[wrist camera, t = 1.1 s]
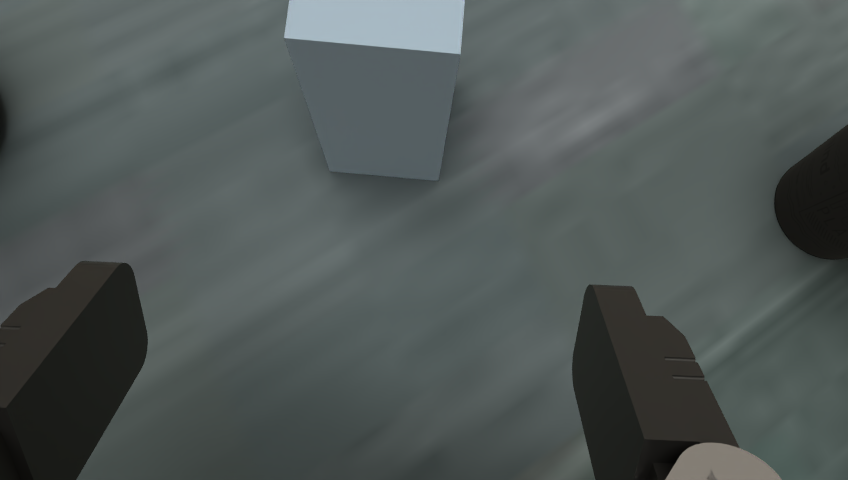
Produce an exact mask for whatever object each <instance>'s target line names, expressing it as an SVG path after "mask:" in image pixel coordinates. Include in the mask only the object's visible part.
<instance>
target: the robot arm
mask: <svg viewBox="0 0 848 480" xmlns="http://www.w3.org/2000/svg"><path fill="white" fill-rule="evenodd" d="M147 345H148V338H147V330H146V326H145V321H144V317H143V312H142V308H141V303H140V299H139V294H138V290H137V285H136V281H135V276H134V273H133V270H132V268H131V267H130V265H129V264H127V263H115V262H92V261H82V262H80V263H78V264H77V265H76V266H75V267H74V268H73V269H72V270H71V271H70V272H69V274H68V275H67V276H66V277H65V278H64V279H63V280H62V281H61V283H60V284H59V285H58V286H57V287H56V288H47V289H46V290H44V291H42V292H41V293H39V294H37V295H36V296H34V297H32V298H31V299H29V300H27V301H26V302H24V303H22V304H21V305H19V306H18V307H17V309H16V310H15V311H14V312H13V313H12V314H11V315H10V316H9V317H8V318H7V319H6V320H5V321H4V322H3V323H2V325H1V329H0V480H76V479H77V477H78V476H79V474H80V472H81V470H82V469H83V467H84V465H85V464H86V462H87V460H88V459H89V457H90V455H91V453H92V452H93V450H94V448H95V447H96V445H97V443H98V442H99V440H100V438H101V436H102V435H103V433H104V431H105V430H106V428H107V426H108V425H109V423H110V421H111V419H112V418H113V416H114V414H115V413H116V411H117V409H118V408H119V406H120V404H121V402H122V401H123V399H124V397H125V396H126V394H127V392H128V391H129V389H130V387H131V385H132V384H133V382H134V380H135V379H136V377H137V375H138V374H139V372H140V370H141V368H142V366H143V364H144V361H145V358H146V353H147ZM572 376H573V386H574V391H575V395H576V400H577V404H578V408H579V412H580V417H581V421H582V425H583V429H584V433H585V438H586V442H587V446H588V450H589V454H590V459H591V463H592V467H593V471H594V476H595V480H782V479H781V478H780V477H779V475H778V474H777V473H776V472H775V471H774V470H773V469H772V468H771V467H770V466H769V465H767V464H766V463H765V462H764V461H762V460H761V459H759V458H758V457H756V456H754V455H753V454H751V453H749V452H747V451H745V450H742V449H740V448H739V446H738V444H737V442H736V440H735V438H734V436H733V434H732V432H731V430H730V428H729V425H728V423H727V421H726V419H725V417H724V415H723V413H722V411H721V409H720V407H719V405H718V403H717V401H716V399H715V397H714V395H713V393H712V391H711V389H710V387H709V385H708V383H707V381H704V375H703V372H702V370H701V368H700V366H699V364H698V363H697V362H695V356H694V354H693V352H692V350H691V348H690V346H689V344H688V342H687V340H686V338H685V336H684V335H683V334H682V333H681V332H680V331H679V330H677V329H676V328H675V327H674V326H673V325H672V324H671V323H670V322H669V321H668V320H666V319H665V318H664V317H663V316H646V314H645V312H644V309H643V307H642V305H641V302H640V300H639V298H638V295H637V293H636V291H635V289H634V288H633V287H632V286H610V285H588V287H587V289H586V291H585V295H584V300H583V305H582V311H581V316H580V321H579V327H578V332H577V337H576V342H575V348H574V353H573V363H572Z"/></svg>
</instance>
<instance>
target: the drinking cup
mask: <svg viewBox="0 0 848 480" xmlns="http://www.w3.org/2000/svg"><path fill="white" fill-rule="evenodd" d="M775 210H776V215H777V218H778V221H779V223H780V226H781V228H782V229H783V231H784V232H785V234H786V235H787V237H788V238H789V239H790V240H791V241H792V242H793V243H794V244H795V245H796V246H798V247H799V248H800V249H802V250H804V251H805V252H807V253H809V254H811V255H814V256H817V257H820V258H825V259H843V258H848V125H847V126H845V127H844V128H843V129H841V130H840V131H839V132H837V133H836V134H835V135H833V136H832V137H831V138H830V139H828V140H827V141H826V142H824V143H823V144H822V145H820V146H819V147H818V148H816V149H815V150H814V151H812V152H811V153H810V154H809V155H807V156H806V157H805V158H803V159H802V160H801V161H799V162H798V163H797V164H795V165H794V166H793V167H792V168H790V169H789V170H788V171H787V172H786V173H785V174H784V176H783V177H782V179H781V180H780V182H779V184H778V187H777V190H776V195H775Z"/></svg>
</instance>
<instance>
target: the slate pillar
mask: <svg viewBox="0 0 848 480" xmlns="http://www.w3.org/2000/svg"><path fill="white" fill-rule="evenodd" d="M464 3H465V0H289V7H288V14H287V21H286V29H285V36H284V39H285V42H286V45H287V48H288V51H289V54H290V56H291V59H292V62H293V65H294V68H295V71H296V74H297V77H298V80H299V83H300V86H301V89H302V92H303V94H304V97H305V100H306V103H307V106H308V109H309V112H310V115H311V118H312V121H313V124H314V127H315V130H316V132H317V135H318V138H319V141H320V144H321V147H322V150H323V153H324V156H325V159H326V162H327V165H328V168H329V170H330V171H331V172H342V173H353V174H365V175H376V176H387V177H398V178H409V179H421V180H432V181H439V176H440V170H441V164H442V158H443V152H444V147H445V141H446V135H447V129H448V123H449V118H450V112H451V106H452V100H453V94H454V89H455V83H456V77H457V71H458V66H459V60H460V54H461V41H462V28H463V16H464Z"/></svg>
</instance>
